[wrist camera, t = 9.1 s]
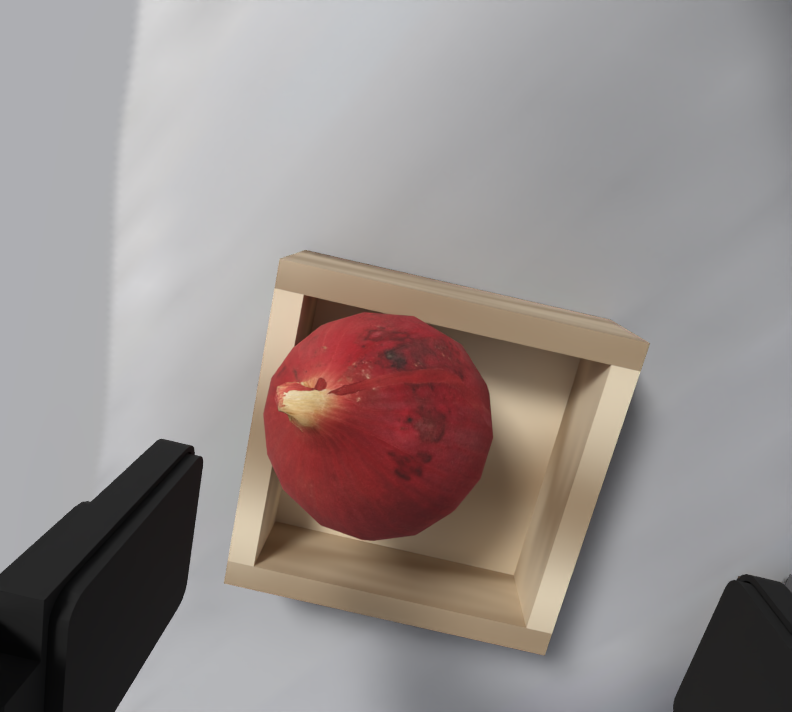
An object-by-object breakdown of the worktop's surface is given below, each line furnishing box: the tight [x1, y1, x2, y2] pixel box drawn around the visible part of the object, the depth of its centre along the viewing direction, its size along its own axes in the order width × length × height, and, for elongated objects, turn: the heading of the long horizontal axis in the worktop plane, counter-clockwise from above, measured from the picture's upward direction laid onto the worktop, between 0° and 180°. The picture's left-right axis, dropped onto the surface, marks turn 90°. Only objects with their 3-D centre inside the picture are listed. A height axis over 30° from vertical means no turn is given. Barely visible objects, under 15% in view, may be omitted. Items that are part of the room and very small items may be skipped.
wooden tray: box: [224, 250, 650, 655], centre depth 19 cm, size 10×10×4 cm
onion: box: [263, 312, 493, 541], centre depth 15 cm, size 6×6×8 cm
